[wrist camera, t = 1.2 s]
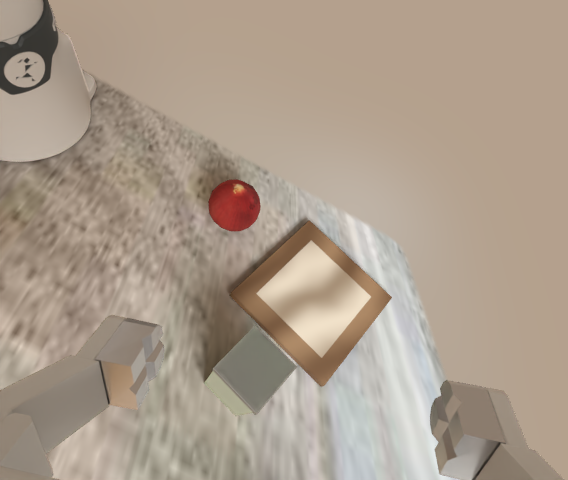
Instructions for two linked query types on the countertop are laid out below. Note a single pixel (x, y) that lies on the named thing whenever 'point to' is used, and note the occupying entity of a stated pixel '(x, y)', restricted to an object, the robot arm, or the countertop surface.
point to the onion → (234, 205)
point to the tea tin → (250, 373)
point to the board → (312, 301)
